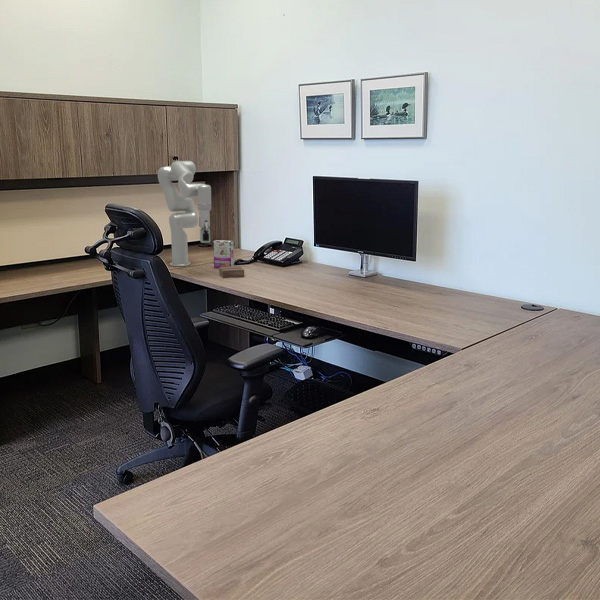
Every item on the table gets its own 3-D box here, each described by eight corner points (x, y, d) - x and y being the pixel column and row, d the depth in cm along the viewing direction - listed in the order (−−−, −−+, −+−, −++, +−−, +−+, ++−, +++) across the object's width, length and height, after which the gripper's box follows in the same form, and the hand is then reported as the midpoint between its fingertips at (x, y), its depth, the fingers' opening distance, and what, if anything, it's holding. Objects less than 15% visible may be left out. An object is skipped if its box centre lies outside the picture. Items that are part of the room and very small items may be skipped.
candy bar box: (234, 267, 374) (233, 240, 370) (231, 269, 369) (230, 241, 365) (217, 266, 377) (216, 239, 373) (213, 268, 373) (213, 240, 369)
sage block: (200, 241, 353) (199, 228, 351) (208, 241, 355) (208, 228, 353) (201, 242, 348) (201, 230, 347) (210, 242, 350) (210, 230, 348)
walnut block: (219, 273, 356) (218, 266, 355) (239, 272, 359) (239, 265, 358) (222, 278, 345) (222, 270, 344) (244, 276, 348) (244, 269, 347)
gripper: (195, 205, 353) (196, 237, 358) (200, 209, 338) (200, 242, 342) (208, 205, 356) (209, 237, 360) (213, 209, 340) (214, 242, 344)
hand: (205, 239), depth 351 cm, fingers closed on sage block, 5 cm apart
